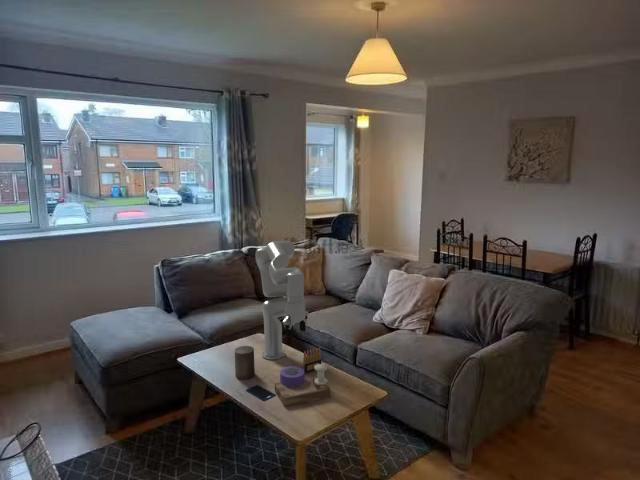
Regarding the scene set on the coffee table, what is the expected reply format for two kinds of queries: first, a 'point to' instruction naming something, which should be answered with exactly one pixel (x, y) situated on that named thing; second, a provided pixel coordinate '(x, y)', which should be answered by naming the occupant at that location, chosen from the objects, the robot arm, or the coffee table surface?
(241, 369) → the pillar candle
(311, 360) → the ammunition clip
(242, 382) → the coffee table surface
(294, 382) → the tape roll
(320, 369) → the doorknob
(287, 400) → the u-shaped wooden bracket
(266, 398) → the cell phone
